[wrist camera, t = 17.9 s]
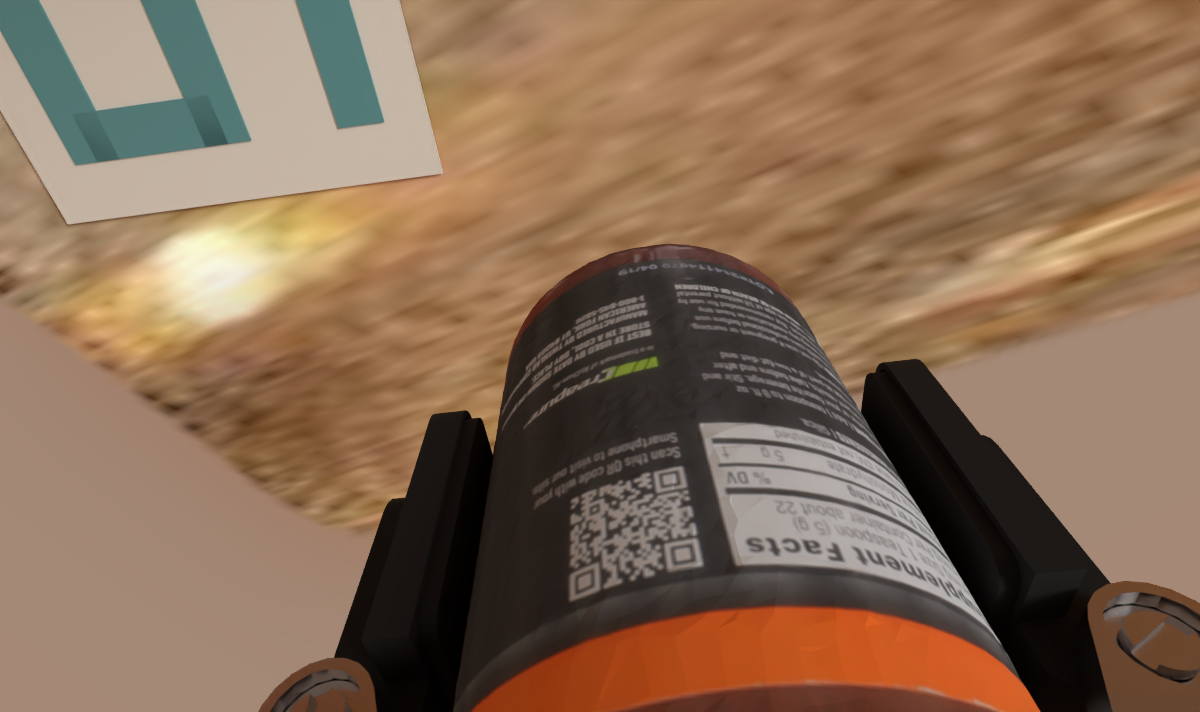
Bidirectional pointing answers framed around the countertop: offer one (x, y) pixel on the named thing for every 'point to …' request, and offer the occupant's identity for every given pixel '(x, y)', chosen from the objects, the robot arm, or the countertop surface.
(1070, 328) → the countertop surface
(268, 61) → the letter board
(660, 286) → the supplement bottle
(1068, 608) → the robot arm
